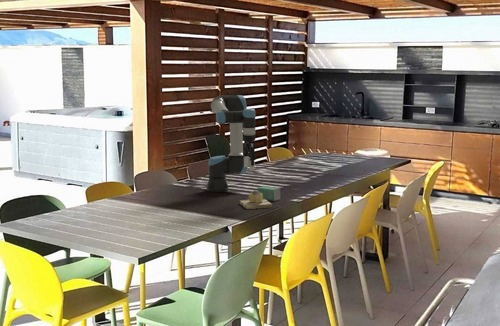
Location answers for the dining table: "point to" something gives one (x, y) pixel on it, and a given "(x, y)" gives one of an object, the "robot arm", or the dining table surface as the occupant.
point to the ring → (256, 197)
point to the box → (269, 193)
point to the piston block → (255, 203)
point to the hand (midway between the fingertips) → (249, 168)
